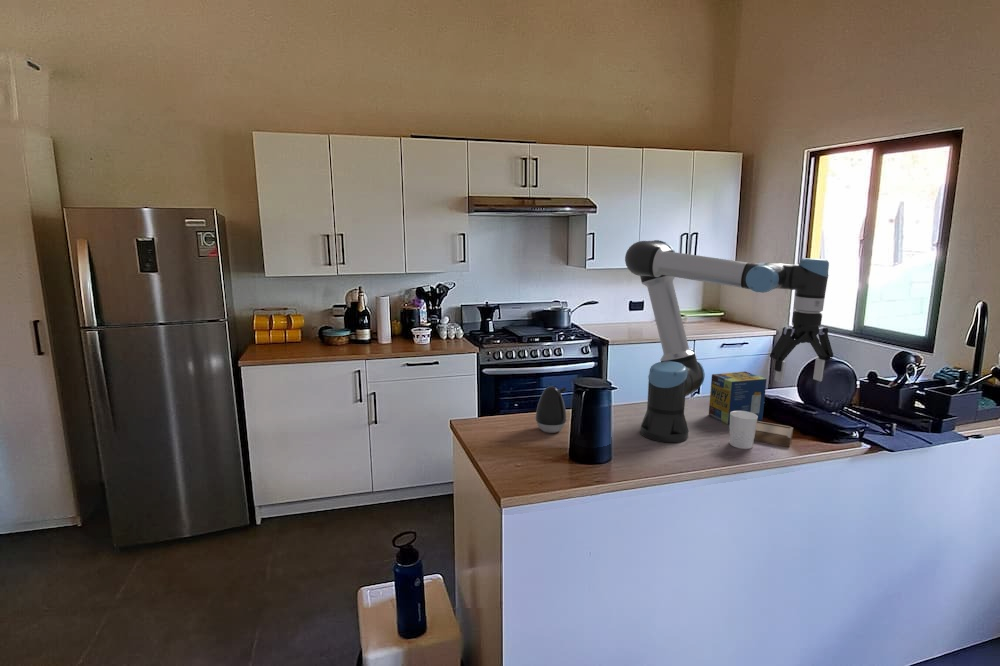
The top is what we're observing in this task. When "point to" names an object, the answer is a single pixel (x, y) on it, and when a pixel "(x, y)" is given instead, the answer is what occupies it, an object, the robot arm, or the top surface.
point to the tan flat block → (773, 433)
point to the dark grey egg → (551, 410)
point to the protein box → (736, 395)
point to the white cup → (742, 429)
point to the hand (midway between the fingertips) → (798, 381)
